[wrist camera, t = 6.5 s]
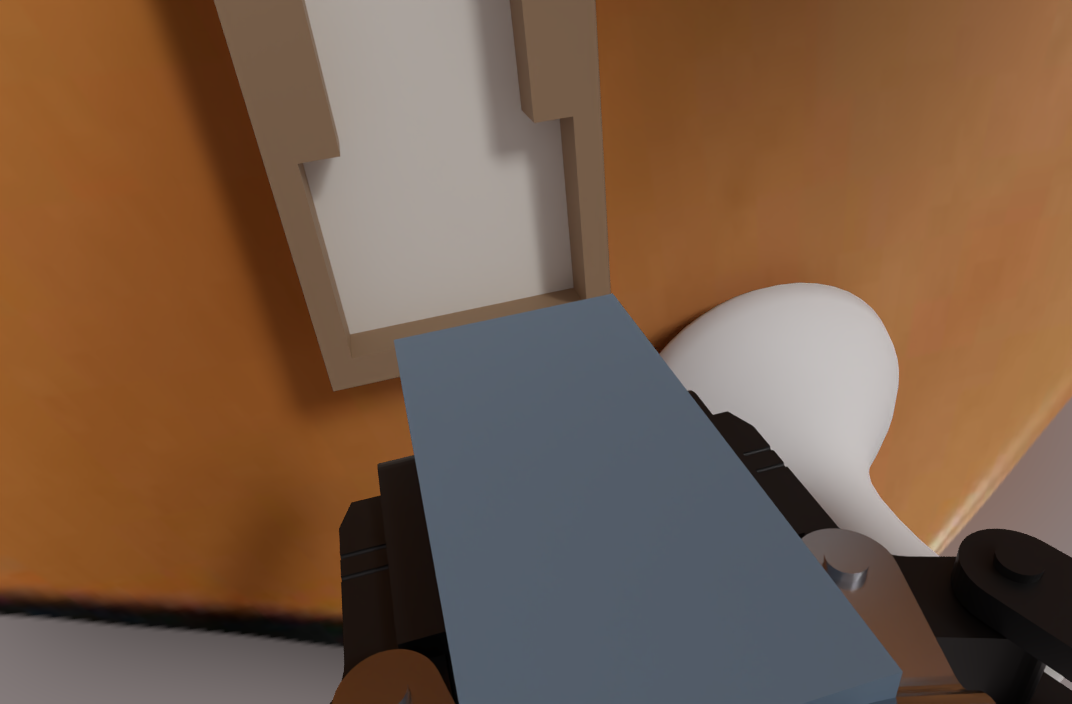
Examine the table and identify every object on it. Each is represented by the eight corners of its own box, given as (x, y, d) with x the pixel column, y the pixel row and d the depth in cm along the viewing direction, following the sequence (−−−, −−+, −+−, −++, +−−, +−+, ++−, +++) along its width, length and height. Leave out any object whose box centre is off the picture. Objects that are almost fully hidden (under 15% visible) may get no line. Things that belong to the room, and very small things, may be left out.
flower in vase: (655, 249, 26) (1970, 1599, 5) (911, 277, 30) (2297, 1153, 9) (571, 528, 32) (1033, 1671, 11) (792, 524, 36) (1452, 1388, 15)
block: (612, 293, 13) (902, 672, 7) (620, 461, 16) (847, 872, 9) (393, 339, 13) (477, 806, 6) (433, 507, 15) (527, 988, 8)
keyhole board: (549, -244, 18) (581, -264, 16) (587, 293, 26) (612, 329, 24) (168, -208, 17) (145, -225, 15) (331, 347, 25) (333, 391, 23)
